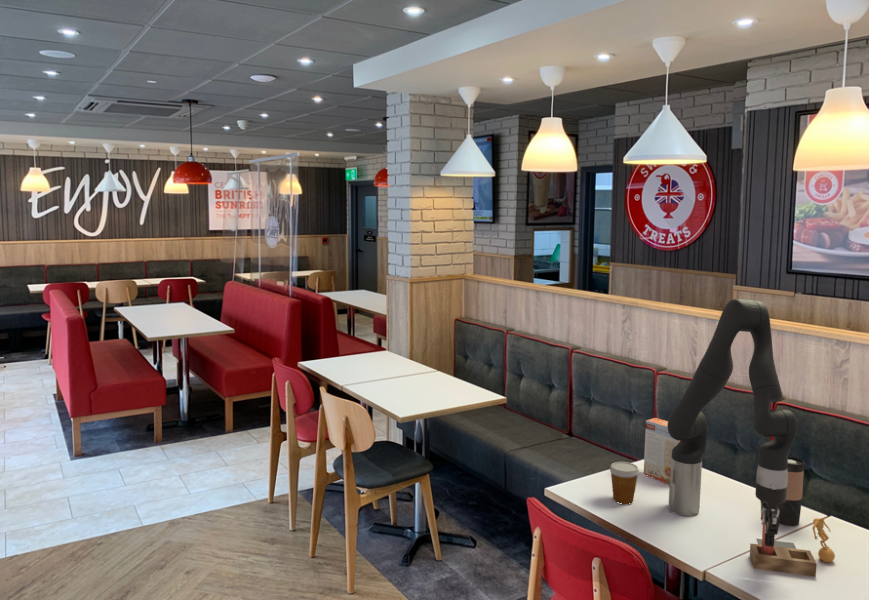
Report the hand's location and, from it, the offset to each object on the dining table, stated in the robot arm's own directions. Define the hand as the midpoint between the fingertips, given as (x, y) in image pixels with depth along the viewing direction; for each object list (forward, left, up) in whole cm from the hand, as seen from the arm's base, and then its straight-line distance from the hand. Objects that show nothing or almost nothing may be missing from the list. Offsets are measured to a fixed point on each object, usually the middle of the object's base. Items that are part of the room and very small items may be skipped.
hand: (767, 542), depth 187 cm
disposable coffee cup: (-38, +32, -7) cm, 50 cm away
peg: (0, 0, -3) cm, 3 cm away
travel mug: (+11, +30, -7) cm, 33 cm away
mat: (+5, +11, -7) cm, 14 cm away
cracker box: (-24, +55, -7) cm, 60 cm away
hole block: (+4, 0, -7) cm, 8 cm away
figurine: (+15, +7, -7) cm, 18 cm away
